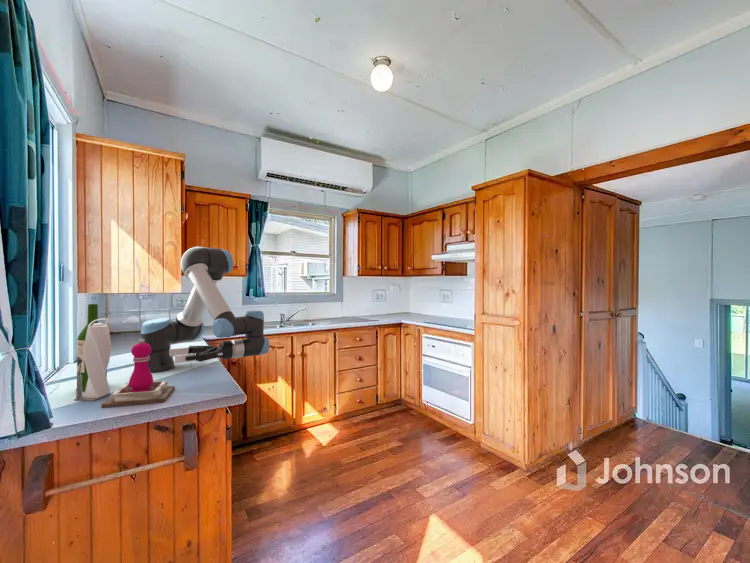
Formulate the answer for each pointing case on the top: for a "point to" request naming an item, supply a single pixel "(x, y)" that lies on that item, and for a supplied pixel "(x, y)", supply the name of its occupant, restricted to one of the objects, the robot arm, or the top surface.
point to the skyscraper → (95, 362)
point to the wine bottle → (81, 342)
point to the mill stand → (139, 395)
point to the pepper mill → (141, 368)
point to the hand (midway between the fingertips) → (172, 355)
